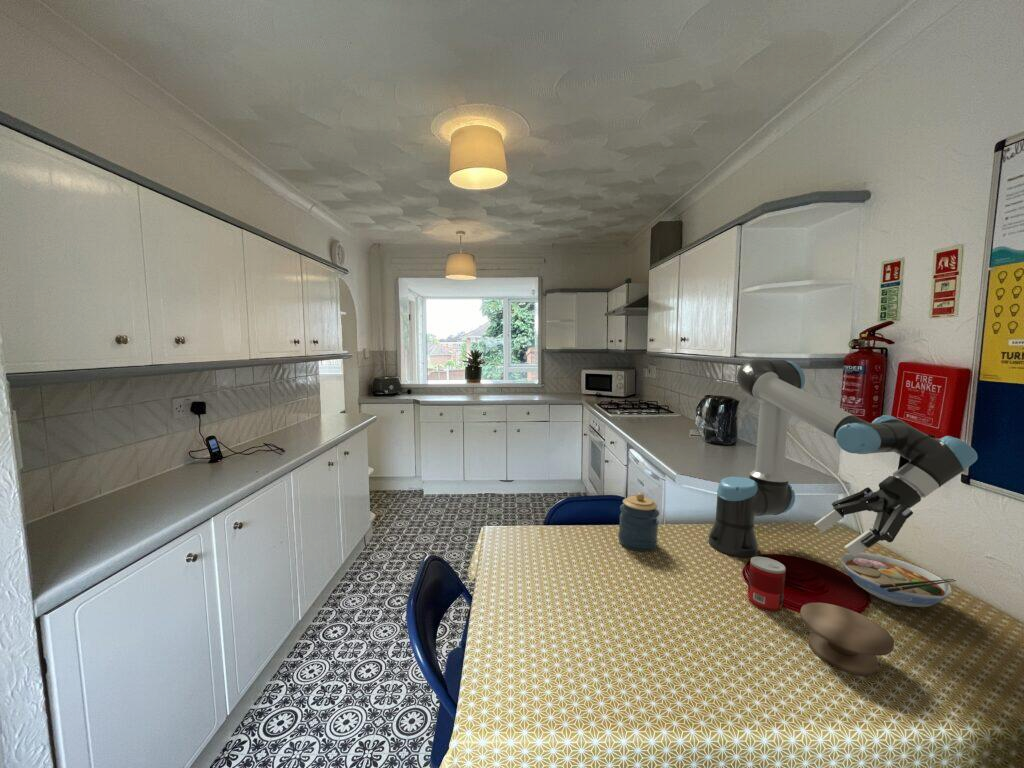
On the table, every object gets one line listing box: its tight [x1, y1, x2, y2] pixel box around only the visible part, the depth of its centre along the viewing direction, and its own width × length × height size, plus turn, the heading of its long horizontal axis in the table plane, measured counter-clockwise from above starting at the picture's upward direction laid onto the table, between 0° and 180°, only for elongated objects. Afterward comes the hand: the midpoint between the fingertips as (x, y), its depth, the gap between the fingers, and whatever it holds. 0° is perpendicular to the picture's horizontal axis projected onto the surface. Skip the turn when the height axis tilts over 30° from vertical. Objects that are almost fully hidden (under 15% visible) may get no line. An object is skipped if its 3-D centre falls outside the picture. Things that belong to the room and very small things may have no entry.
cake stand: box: [799, 602, 895, 677], centre depth 91 cm, size 16×16×7 cm
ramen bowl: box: [840, 552, 957, 608], centre depth 114 cm, size 25×23×8 cm
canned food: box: [747, 556, 787, 612], centre depth 110 cm, size 8×8×11 cm
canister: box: [617, 492, 660, 552], centre depth 142 cm, size 13×13×18 cm
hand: (832, 539), depth 105 cm, fingers open, 13 cm apart
